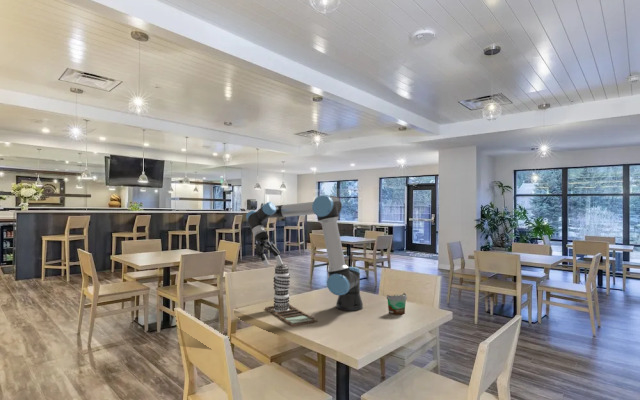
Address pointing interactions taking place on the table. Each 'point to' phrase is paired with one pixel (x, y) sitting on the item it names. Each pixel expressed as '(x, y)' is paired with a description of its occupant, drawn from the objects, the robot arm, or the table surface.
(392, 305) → the food container
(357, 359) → the table surface
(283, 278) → the decorative candle
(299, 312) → the brown flat rectangular frame
